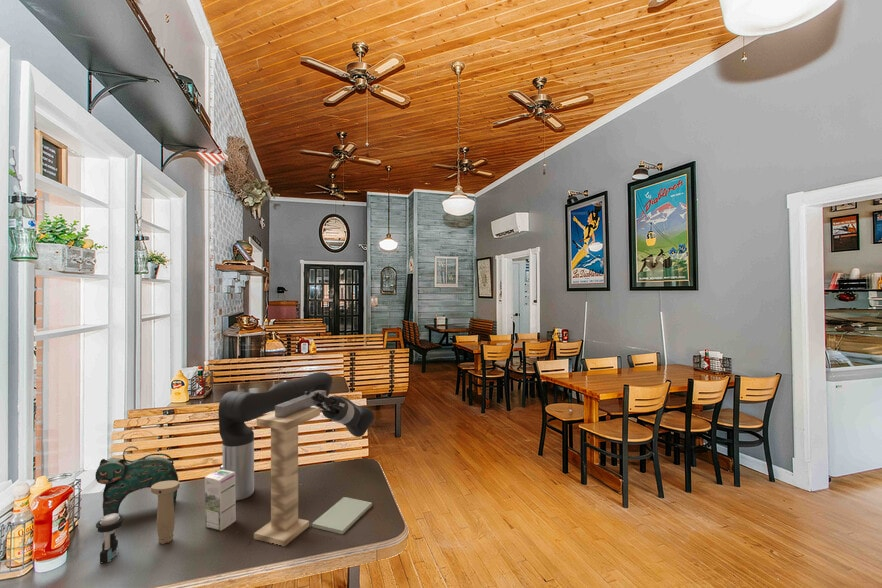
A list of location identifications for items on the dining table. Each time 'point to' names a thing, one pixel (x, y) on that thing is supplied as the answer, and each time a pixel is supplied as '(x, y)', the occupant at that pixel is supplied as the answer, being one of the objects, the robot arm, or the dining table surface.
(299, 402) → the long grey plank
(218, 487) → the syrup box
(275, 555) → the dining table surface
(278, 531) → the stand
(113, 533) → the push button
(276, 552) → the dining table surface
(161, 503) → the handle
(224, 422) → the robot arm
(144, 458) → the ceramic cat
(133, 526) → the dining table surface
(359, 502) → the mat
